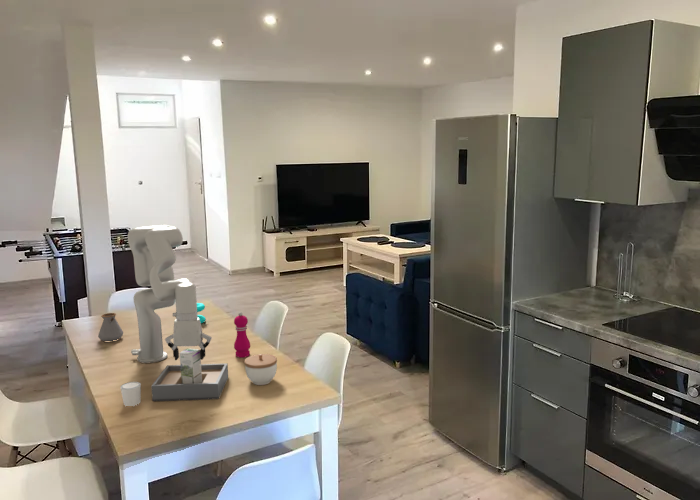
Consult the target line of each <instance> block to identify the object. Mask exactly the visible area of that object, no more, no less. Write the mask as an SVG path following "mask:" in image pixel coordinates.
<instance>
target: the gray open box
mask: <svg viewBox="0 0 700 500" xmlns="http://www.w3.org/2000/svg"><path fill="white" fill-rule="evenodd" d="M228 366H229V365H228V363H203V364H202V363H201V371H202V383H191V384H182V379H181V366H180V364H174V365H173V364H172V365H171V364H170V365H166V366H165V368H164V369H163V370H162V372H161V373H160V374H159V375H158V377H157V378H156V379H155V380H154V381H153V383H152V384H151V385H150V386H151V397H152V400H151V401H152V402H171V401H172V402H175V401H177V402H178V401H199V400H201V401H203V400H205V401H206V400H219V399H220V397H221V395H222V393H223V390H224V388H225V386H226V384H227V382H228V379H229V367H228Z"/></svg>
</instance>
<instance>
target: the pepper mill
mask: <svg viewBox="0 0 700 500" xmlns="http://www.w3.org/2000/svg"><path fill="white" fill-rule="evenodd" d="M248 321H249V319H248V317H247V316H246V315H243V312H241V311H240V312H238V315H237V316H236V317H235V318H234V320H233V324H234V325H235V331H236V336H235V337H236V338H235V341H234V344H233V349H234V350H235V357H236V358H243V359H244V358H248V357H250V356H251V354H250V353H251V352H250V348H251V342H250V340H249V337H248V335H247V329H248V326H247V325H248V323H249V322H248Z"/></svg>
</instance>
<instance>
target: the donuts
mask: <svg viewBox="0 0 700 500" xmlns="http://www.w3.org/2000/svg"><path fill="white" fill-rule="evenodd" d="M205 307H206V305H205V303H203V302H197V313H200V312H203V310H205V309H206V308H205ZM197 317H198V318H199V319H200V323H201V324H205V322H206V320H207V319H206V317H205V316H204V315H202V314H197Z"/></svg>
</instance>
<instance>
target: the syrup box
mask: <svg viewBox="0 0 700 500" xmlns="http://www.w3.org/2000/svg"><path fill="white" fill-rule="evenodd" d="M200 350H201V349H197V348H185V349H183V350H182V351H180V352H179V363H180V364H179V365H180V366H181V379H182V384H191V383H202V371H201V364H202V360H201V358H200Z"/></svg>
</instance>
